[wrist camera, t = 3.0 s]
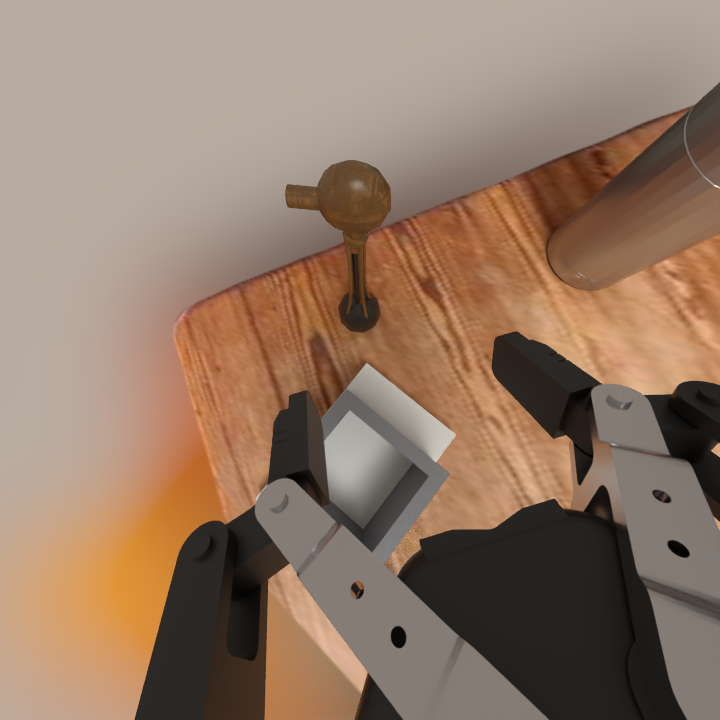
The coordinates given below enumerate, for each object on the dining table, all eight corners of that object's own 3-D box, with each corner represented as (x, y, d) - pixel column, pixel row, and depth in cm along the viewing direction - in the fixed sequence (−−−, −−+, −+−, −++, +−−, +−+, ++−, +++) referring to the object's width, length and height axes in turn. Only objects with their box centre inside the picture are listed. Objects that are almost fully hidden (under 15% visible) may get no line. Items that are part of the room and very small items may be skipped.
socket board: (366, 364, 31) (367, 352, 24) (451, 433, 30) (480, 443, 22) (260, 493, 29) (225, 525, 22) (347, 573, 28) (340, 635, 20)
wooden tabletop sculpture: (327, 328, 32) (267, 205, 12) (333, 291, 32) (284, 117, 13) (377, 334, 31) (401, 219, 12) (382, 296, 32) (410, 128, 12)
